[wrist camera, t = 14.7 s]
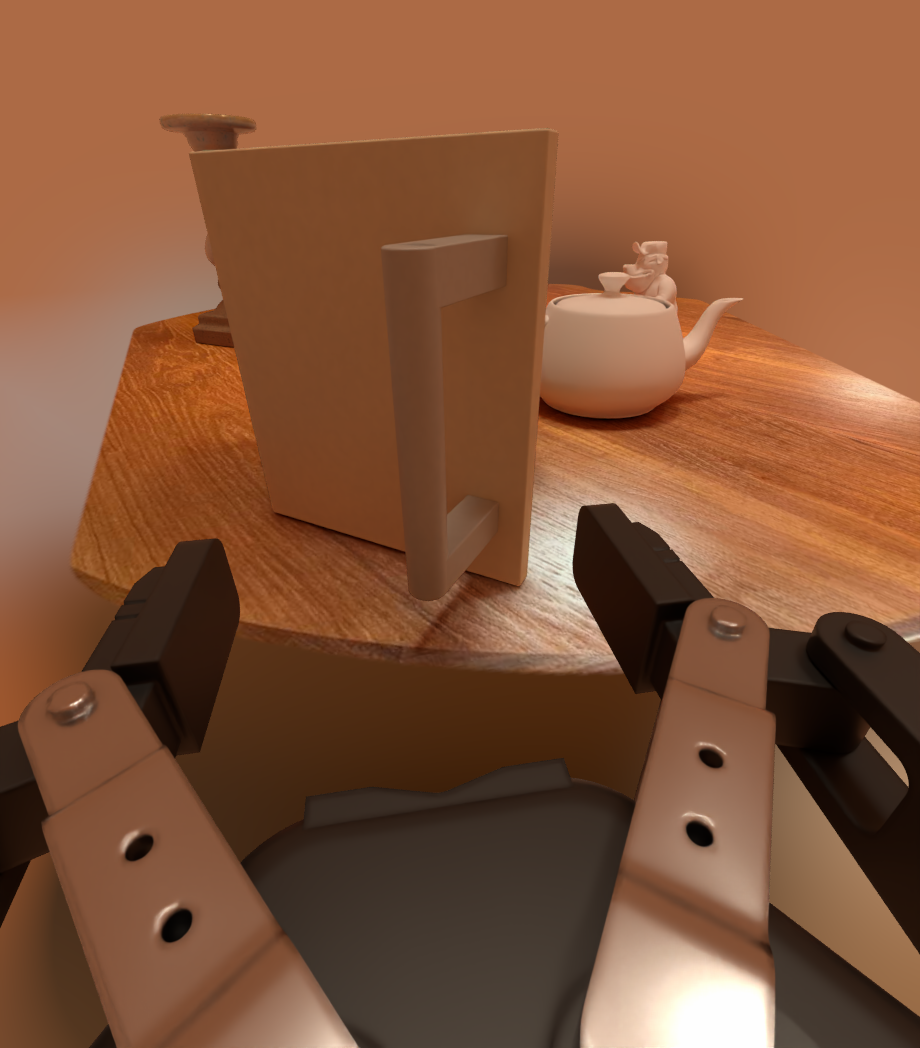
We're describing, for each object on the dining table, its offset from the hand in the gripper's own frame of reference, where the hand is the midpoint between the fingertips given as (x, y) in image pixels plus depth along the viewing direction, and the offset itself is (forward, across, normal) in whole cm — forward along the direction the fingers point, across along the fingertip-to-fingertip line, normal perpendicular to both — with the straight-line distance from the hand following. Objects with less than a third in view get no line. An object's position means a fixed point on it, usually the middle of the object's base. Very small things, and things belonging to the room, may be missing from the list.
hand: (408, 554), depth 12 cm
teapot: (+34, -20, +9) cm, 41 cm away
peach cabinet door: (+12, +2, +9) cm, 15 cm away
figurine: (+47, -29, +9) cm, 56 cm away
